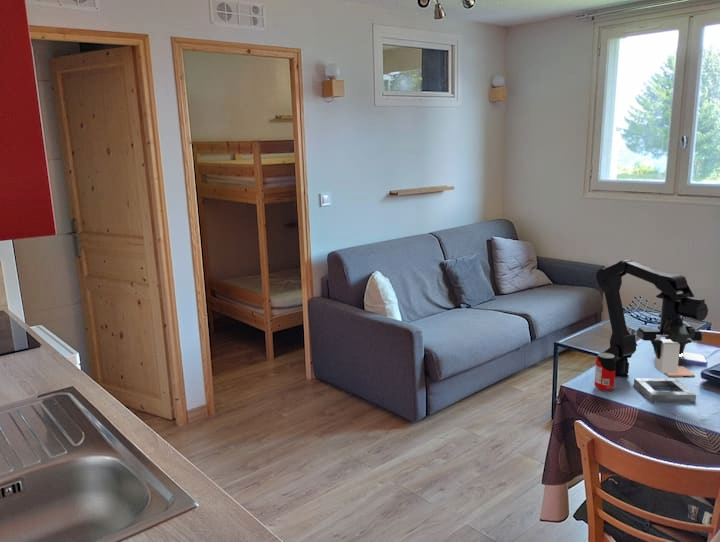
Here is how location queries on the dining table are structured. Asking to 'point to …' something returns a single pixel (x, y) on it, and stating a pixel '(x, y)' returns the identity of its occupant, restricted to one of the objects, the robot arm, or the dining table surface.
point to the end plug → (668, 357)
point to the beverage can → (605, 371)
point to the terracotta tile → (680, 372)
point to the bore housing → (678, 396)
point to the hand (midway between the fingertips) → (666, 358)
